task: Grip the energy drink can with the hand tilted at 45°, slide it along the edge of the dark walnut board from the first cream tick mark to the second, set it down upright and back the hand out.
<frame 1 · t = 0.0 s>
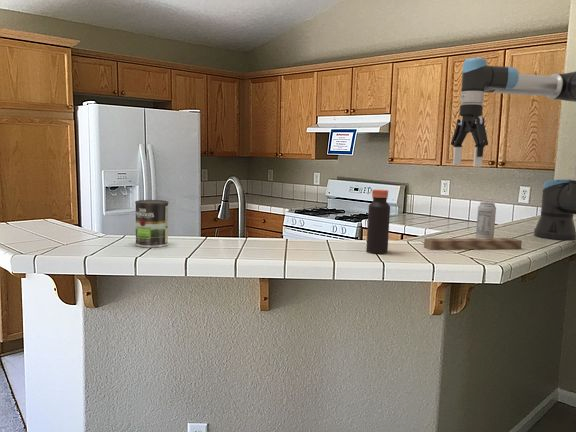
hand: (466, 166, 181), 28 cm above the countertop, tool pointing down, fingers open, 13 cm apart
coffee can: (152, 245, 166), on the countertop
energy drink can: (483, 244, 187), on the countertop
bottle: (376, 252, 166), on the countertop
walnut board: (472, 248, 178), on the countertop
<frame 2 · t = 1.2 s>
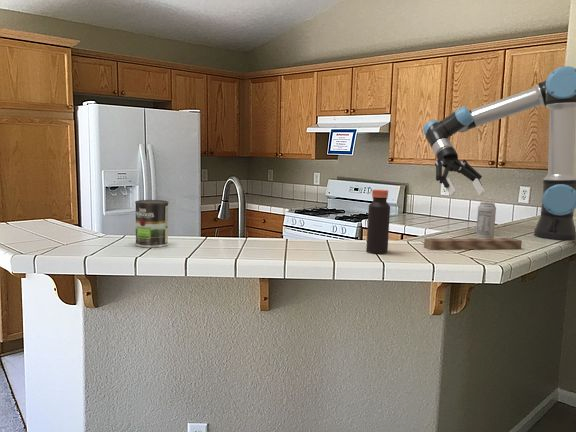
hand: (467, 193, 194), 17 cm above the countertop, tool tilted 45°, fingers open, 13 cm apart
nothing on the countertop moved.
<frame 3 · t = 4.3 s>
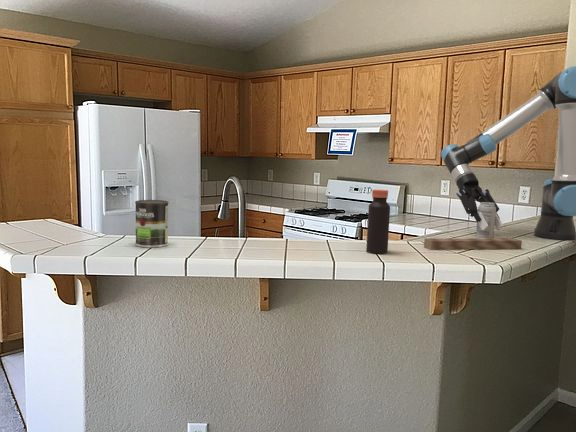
hand: (492, 228, 183), 6 cm above the countertop, tool tilted 45°, fingers closed on energy drink can, 6 cm apart
energy drink can: (484, 244, 187), on the countertop, touching gripper
everything else where it was.
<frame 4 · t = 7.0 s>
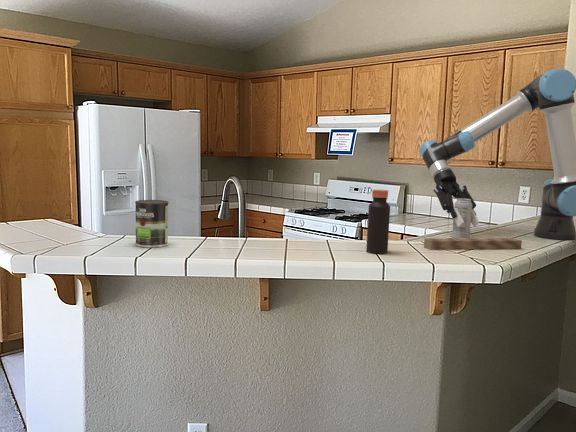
hand: (468, 224, 181), 8 cm above the countertop, tool tilted 45°, fingers closed on energy drink can, 6 cm apart
energy drink can: (460, 240, 186), point 1 cm above the countertop, touching gripper
everything else where it was.
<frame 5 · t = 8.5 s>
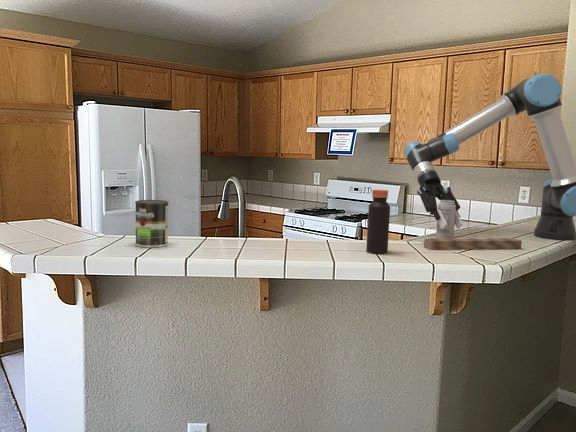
hand: (452, 226, 180), 7 cm above the countertop, tool tilted 45°, fingers closed on energy drink can, 6 cm apart
energy drink can: (444, 243, 184), on the countertop, touching gripper
everything else where it was.
when the fingers open (7 cm above the countertop, at t = 9.7 s): energy drink can stays where it is, on the countertop.
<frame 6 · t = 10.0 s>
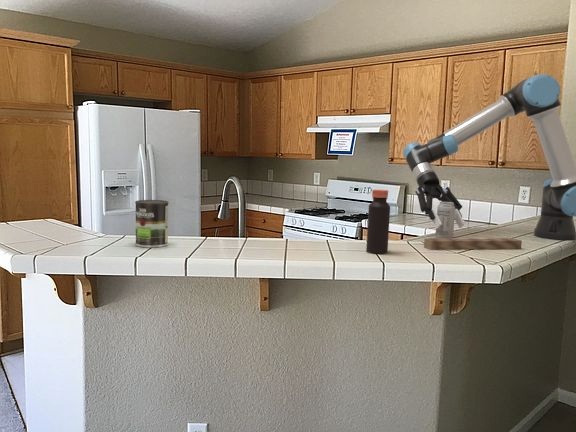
hand: (450, 226, 180), 7 cm above the countertop, tool tilted 45°, fingers open, 9 cm apart
energy drink can: (443, 244, 184), on the countertop
everything else where it was.
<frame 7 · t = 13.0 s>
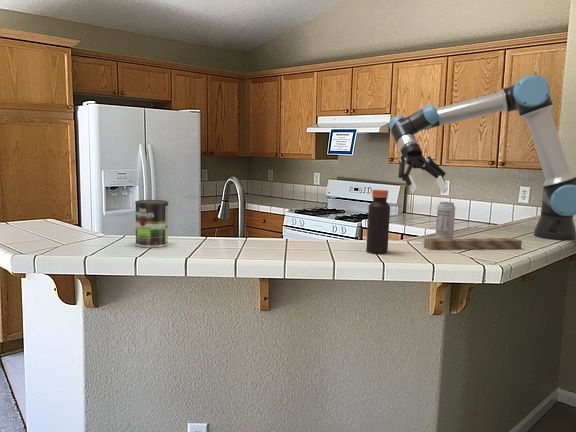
hand: (430, 191, 192), 18 cm above the countertop, tool tilted 45°, fingers open, 13 cm apart
nothing on the countertop moved.
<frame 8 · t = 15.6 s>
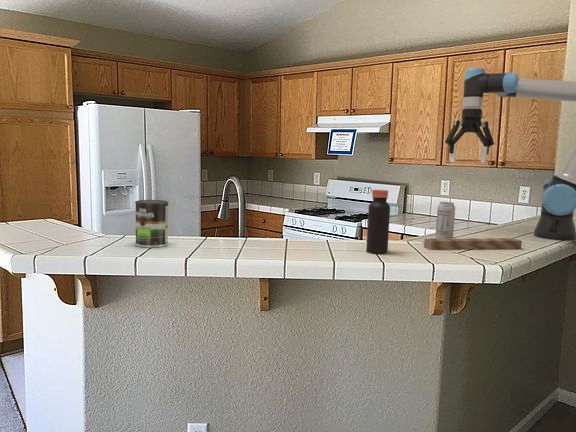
hand: (468, 162, 207), 29 cm above the countertop, tool pointing down, fingers open, 13 cm apart
nothing on the countertop moved.
at the end: energy drink can inside the target area (0.1 cm from its centre), on the countertop; energy drink can tilted 0°; the gripper is holding nothing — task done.
